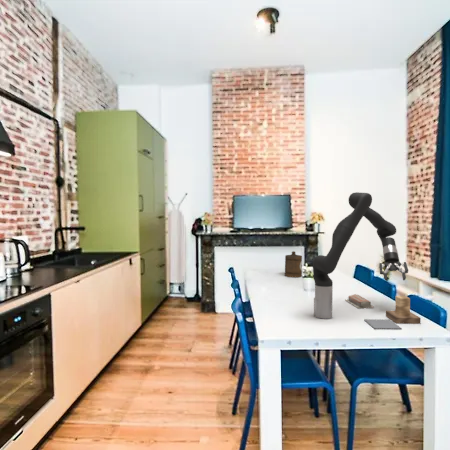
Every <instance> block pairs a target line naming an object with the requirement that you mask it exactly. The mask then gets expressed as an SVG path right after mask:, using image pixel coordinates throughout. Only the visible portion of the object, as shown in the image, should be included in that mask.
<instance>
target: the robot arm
mask: <svg viewBox="0 0 450 450" xmlns="http://www.w3.org/2000/svg"><path fill="white" fill-rule="evenodd" d="M372 202H373V197H372V194H370V193H368V192H360V191H359V192H358V191H357V192H352V193H351V194H350V195H349V197H348V204H349V206H350V207H351V208H352V209H353V211H352V212H351V213H350V214H348V215H347V216H346V217H344V218H343V219H342V220H340V221H339V222H338V224H337V225H336V227H335V229H334V231H333V233H332V238H331V239H332V240H331V247H330V249H329V251H328V252H327V254H326V255H321V254H320V255H316V256H315V257H314V259H313V262H312V273H313V274H312V275H313V276H312V278H313V281H314V297H313V315H314V317H315V318H317V319H319V318H320V319H324V320H325V319H326V320H327V319H332V318H333V288H334V287H333V280H332V279H331V278H330V276H329V274H332V273H333V272H334V271H335V270H336V268H337V265H338V263H339V261H340V259H341V256H342V254H343V252H344V250H345V248H346V246H348V245H347V244H348V243H349V241H350V240H351V237H352V235H353V234H354V232H355V230H356V229H357V226H359V223H360V222H361V220H362V218H363V217H364V218H365V219H367V220H368V221H369V223H370V224H372V226H373V227H374V228H375V229H377V230H376V234H377V235H378V237H379V239H380V242H381V245H382V255H383V259H384V263H381V262H380V263H379V265H378V266H379V275H382V276H383V279H384V280H385V282H388V281H389V279H388V273H389V272H397V271H398V273H401V276H402V277H401V278H402V280H403V281H405V280H406V278H407V277H406V274H409V268H408V267H409V266H408V265H407V262H406V261H404V262H400V258H399V252H398V249H397V244H396V240H395V238H393V237H392V236H394V235H396V234H397V228H396V226H395V225H394V224H393V223H391V222H390V221H388V220H387V219H385V218H384V217H383V216H382V215H381V214H380V213H379V212H377V211H376V210H374V209H373V208H372V207H371V205H372ZM402 267H403V268H404V269H403V268H402ZM383 268H385V270H384V271H383Z"/></svg>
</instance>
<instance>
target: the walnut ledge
mask: <svg viewBox="0 0 450 450" xmlns="http://www.w3.org/2000/svg"><path fill="white" fill-rule="evenodd" d="M385 317H386V318H387V319H389V320H391V321H392V322H394V323H395V324H396V325H398V324H399V325H400V324H401V325H403V324H405V325H406V324H409V325H410V324H411V325H412V324H413V325H414V324H415V325H416V324H418V325H419V324H420V325H421V317H420V316H418V315H416V314H415V313H413V312H411V311H410V316H400V315H398V314H397V313H395V310H385Z"/></svg>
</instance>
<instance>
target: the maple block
mask: <svg viewBox="0 0 450 450" xmlns="http://www.w3.org/2000/svg"><path fill="white" fill-rule="evenodd" d="M394 311H395V313H397V314H398V315H400V316H410V312H411V298H410V297H408V296H406V295H395V310H394Z"/></svg>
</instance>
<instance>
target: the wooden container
mask: <svg viewBox="0 0 450 450" xmlns="http://www.w3.org/2000/svg"><path fill="white" fill-rule="evenodd" d="M284 257H285V258H284V260H285V261H284V262H285V263H284V276H285V277H287V278H301V277H302V276H303V256H302V255H299V254H296V251H294V250H293V251H291V254H286V255H285V256H284Z"/></svg>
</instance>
